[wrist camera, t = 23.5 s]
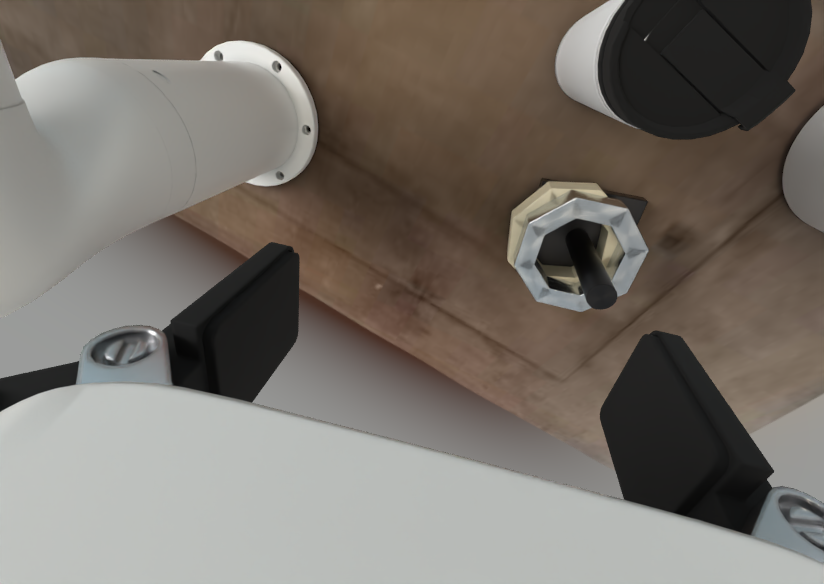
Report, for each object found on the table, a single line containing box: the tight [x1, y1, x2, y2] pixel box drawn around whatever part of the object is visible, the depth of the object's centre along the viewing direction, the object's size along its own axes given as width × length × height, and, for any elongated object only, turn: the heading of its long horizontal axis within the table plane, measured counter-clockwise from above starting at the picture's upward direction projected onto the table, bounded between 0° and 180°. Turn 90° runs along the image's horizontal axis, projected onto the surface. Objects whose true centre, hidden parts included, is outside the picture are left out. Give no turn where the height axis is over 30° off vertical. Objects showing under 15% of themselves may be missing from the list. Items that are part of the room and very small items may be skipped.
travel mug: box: [555, 0, 812, 139], centre depth 23 cm, size 6×7×20 cm
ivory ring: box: [507, 181, 618, 283], centre depth 36 cm, size 10×10×2 cm
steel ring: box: [514, 190, 649, 312], centre depth 34 cm, size 10×10×2 cm
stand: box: [515, 178, 648, 309], centre depth 33 cm, size 9×9×12 cm
